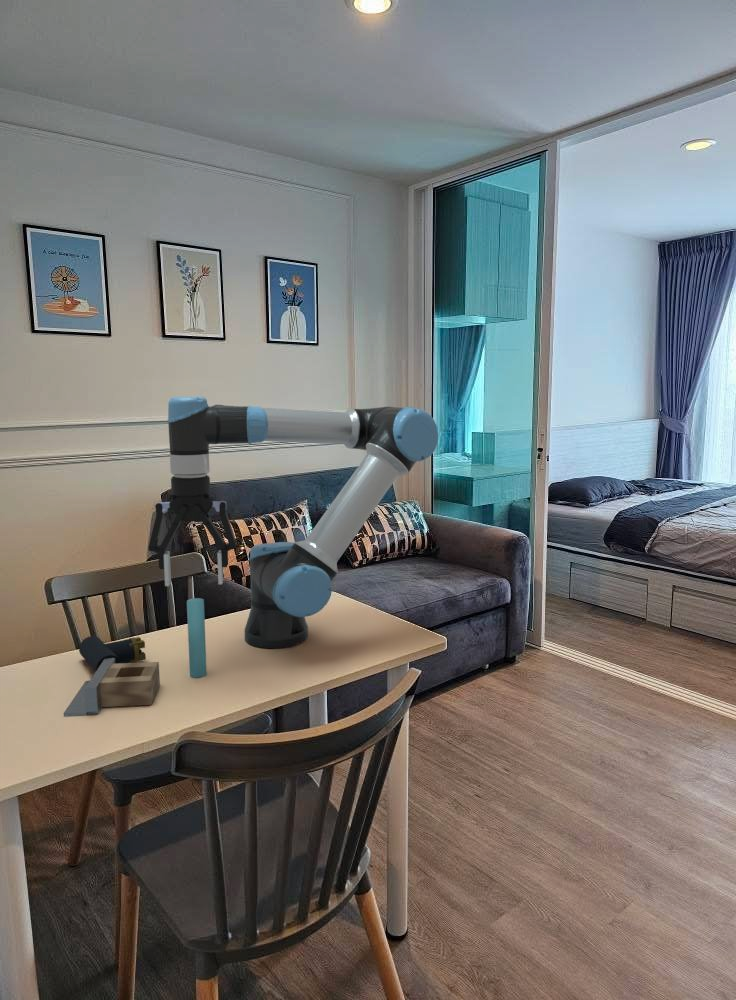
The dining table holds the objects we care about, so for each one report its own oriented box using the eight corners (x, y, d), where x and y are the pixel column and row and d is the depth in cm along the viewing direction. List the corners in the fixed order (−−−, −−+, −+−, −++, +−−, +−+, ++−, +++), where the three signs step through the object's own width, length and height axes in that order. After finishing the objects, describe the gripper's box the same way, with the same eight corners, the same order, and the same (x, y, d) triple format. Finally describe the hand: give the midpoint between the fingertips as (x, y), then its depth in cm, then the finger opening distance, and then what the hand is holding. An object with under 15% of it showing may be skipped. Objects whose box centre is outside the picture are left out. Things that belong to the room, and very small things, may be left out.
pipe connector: (131, 627, 155) (152, 645, 143) (132, 650, 156) (153, 669, 143) (78, 637, 148) (95, 657, 136) (79, 661, 149) (97, 682, 137)
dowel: (207, 670, 144) (204, 597, 141) (205, 677, 141) (202, 602, 138) (191, 671, 143) (188, 598, 141) (188, 678, 140) (185, 603, 138)
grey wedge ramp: (116, 682, 138) (115, 657, 137) (98, 714, 124) (96, 687, 124) (85, 683, 137) (84, 659, 137) (63, 716, 124) (61, 689, 123)
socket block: (159, 684, 137) (158, 661, 136) (151, 704, 128) (149, 680, 127) (113, 686, 136) (112, 663, 135) (101, 707, 127) (100, 682, 126)
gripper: (248, 472, 140) (251, 576, 144) (136, 473, 138) (141, 580, 141) (246, 476, 133) (249, 586, 137) (127, 478, 130) (133, 590, 134)
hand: (194, 583), depth 139 cm, fingers open, 10 cm apart
